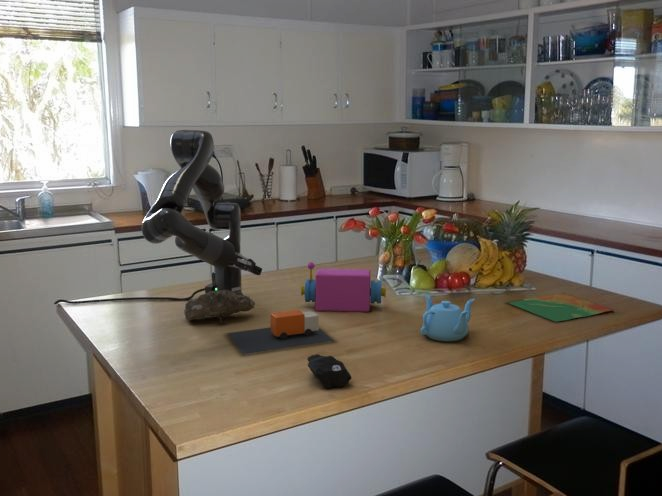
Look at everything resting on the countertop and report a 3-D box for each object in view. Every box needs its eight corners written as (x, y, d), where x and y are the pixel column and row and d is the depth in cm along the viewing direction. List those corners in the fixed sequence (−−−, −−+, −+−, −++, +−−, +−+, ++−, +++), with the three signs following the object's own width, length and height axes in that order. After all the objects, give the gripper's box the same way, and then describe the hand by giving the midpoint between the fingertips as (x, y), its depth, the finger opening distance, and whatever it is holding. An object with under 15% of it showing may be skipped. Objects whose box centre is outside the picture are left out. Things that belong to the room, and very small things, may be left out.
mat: (243, 355, 175) (243, 353, 175) (227, 334, 192) (227, 333, 192) (334, 342, 185) (334, 340, 185) (311, 323, 202) (311, 322, 202)
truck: (276, 317, 184) (319, 312, 189) (270, 312, 189) (312, 307, 194) (276, 340, 185) (319, 334, 190) (270, 334, 190) (312, 329, 195)
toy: (385, 304, 221) (386, 260, 218) (385, 312, 212) (386, 267, 210) (303, 302, 223) (302, 259, 221) (299, 310, 215) (299, 265, 212)
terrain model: (563, 294, 233) (563, 292, 233) (614, 311, 213) (615, 309, 213) (507, 302, 223) (507, 301, 222) (555, 321, 203) (555, 319, 202)
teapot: (414, 341, 186) (415, 306, 184) (424, 324, 200) (425, 292, 198) (467, 347, 182) (468, 311, 180) (473, 329, 196) (475, 296, 194)
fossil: (252, 297, 214) (254, 278, 201) (258, 325, 210) (260, 307, 197) (183, 310, 209) (180, 291, 196) (188, 338, 205) (186, 321, 192)
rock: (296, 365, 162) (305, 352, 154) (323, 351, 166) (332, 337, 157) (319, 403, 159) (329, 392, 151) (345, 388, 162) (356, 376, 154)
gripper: (232, 239, 171) (279, 262, 182) (204, 234, 180) (250, 256, 192) (221, 266, 169) (269, 287, 181) (193, 259, 179) (241, 281, 190)
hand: (259, 271), depth 186 cm, fingers closed
